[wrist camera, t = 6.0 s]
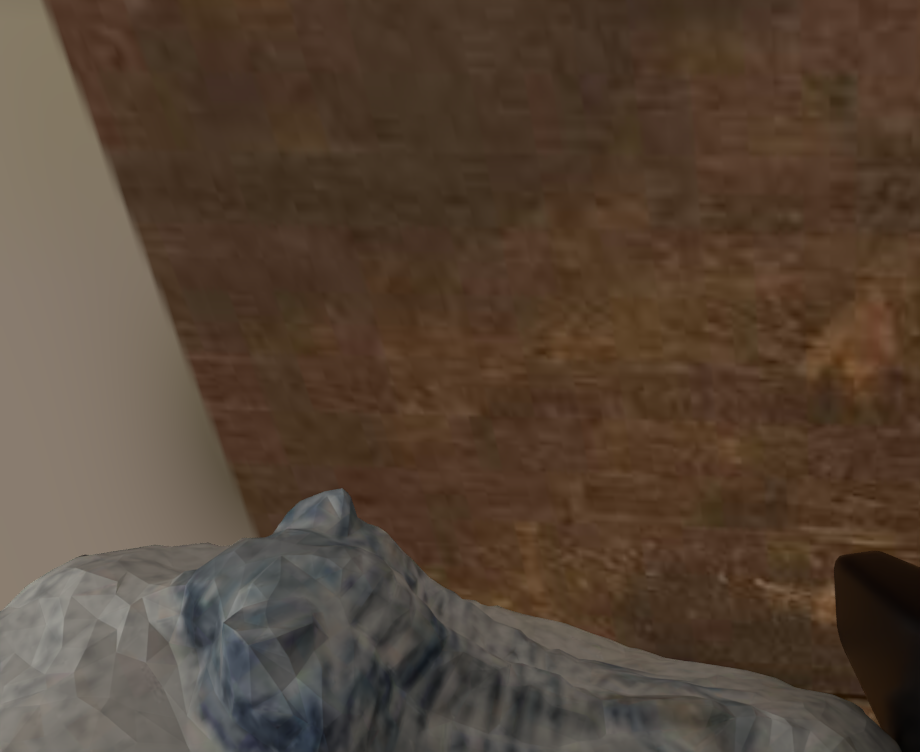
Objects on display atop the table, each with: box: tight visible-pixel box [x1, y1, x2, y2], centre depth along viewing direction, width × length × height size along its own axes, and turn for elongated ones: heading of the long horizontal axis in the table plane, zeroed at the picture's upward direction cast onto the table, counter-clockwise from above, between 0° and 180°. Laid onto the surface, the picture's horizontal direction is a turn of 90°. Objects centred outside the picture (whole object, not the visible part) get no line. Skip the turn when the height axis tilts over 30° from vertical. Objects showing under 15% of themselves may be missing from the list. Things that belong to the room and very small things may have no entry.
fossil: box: [0, 489, 902, 752], centre depth 7 cm, size 8×4×5 cm, turn 78°
